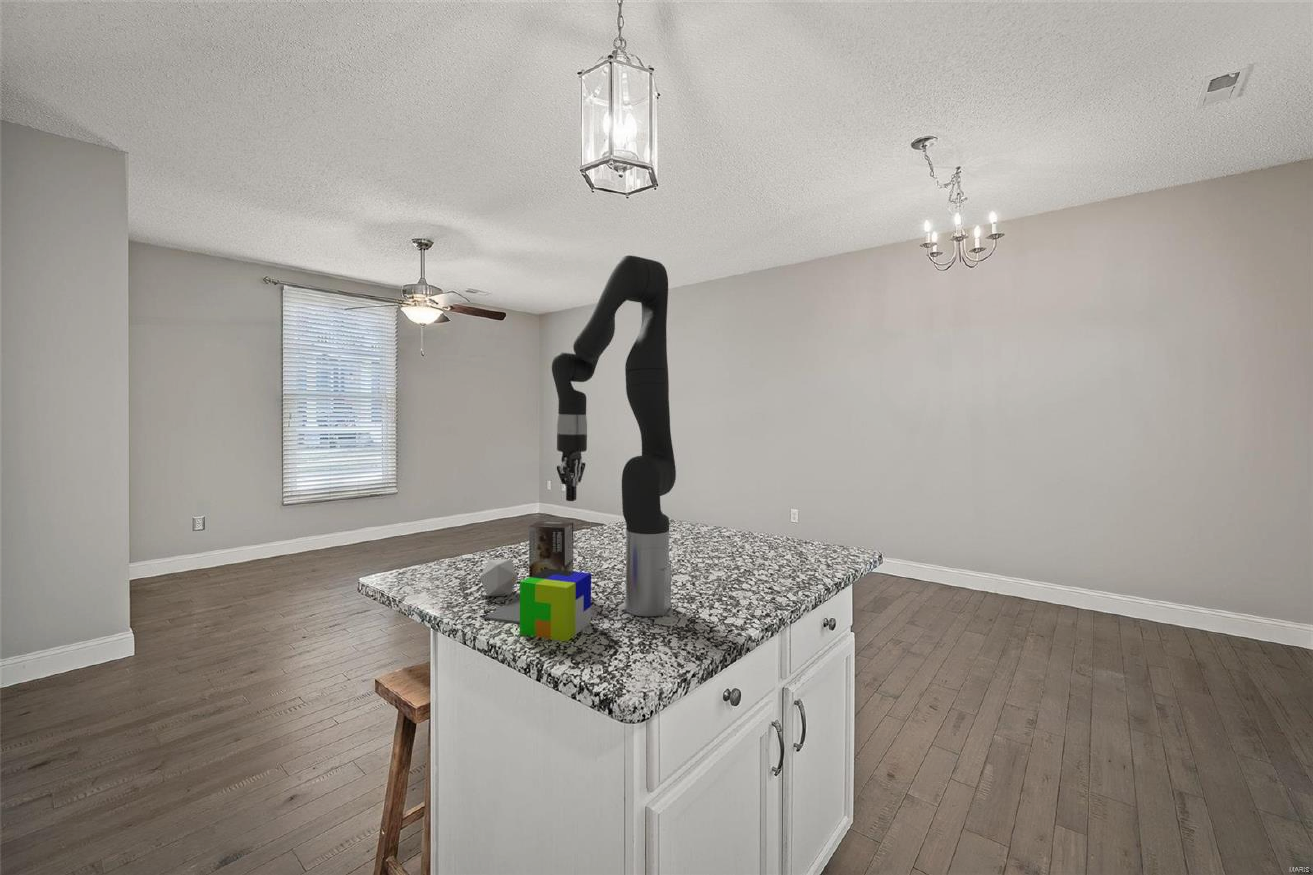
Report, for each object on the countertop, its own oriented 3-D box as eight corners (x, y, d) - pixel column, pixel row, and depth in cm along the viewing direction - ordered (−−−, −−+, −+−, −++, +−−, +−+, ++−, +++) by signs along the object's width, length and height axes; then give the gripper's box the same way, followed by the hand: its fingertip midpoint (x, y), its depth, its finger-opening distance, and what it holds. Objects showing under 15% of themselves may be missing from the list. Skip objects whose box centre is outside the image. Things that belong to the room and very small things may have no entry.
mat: (559, 598, 122) (559, 596, 122) (524, 623, 107) (524, 621, 107) (523, 594, 125) (523, 592, 125) (484, 618, 109) (484, 617, 109)
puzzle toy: (590, 622, 108) (591, 573, 108) (566, 642, 99) (567, 588, 98) (547, 616, 111) (547, 568, 111) (519, 634, 102) (519, 582, 102)
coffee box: (574, 588, 129) (574, 522, 129) (565, 597, 123) (565, 527, 123) (538, 586, 131) (538, 520, 131) (527, 594, 125) (528, 525, 124)
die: (502, 605, 119) (526, 566, 123) (468, 585, 119) (493, 547, 123) (504, 606, 127) (527, 570, 131) (473, 588, 127) (496, 552, 131)
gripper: (575, 433, 129) (574, 505, 130) (595, 432, 142) (594, 498, 142) (546, 432, 131) (545, 503, 132) (569, 431, 144) (568, 496, 144)
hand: (571, 500), depth 137 cm, fingers closed
